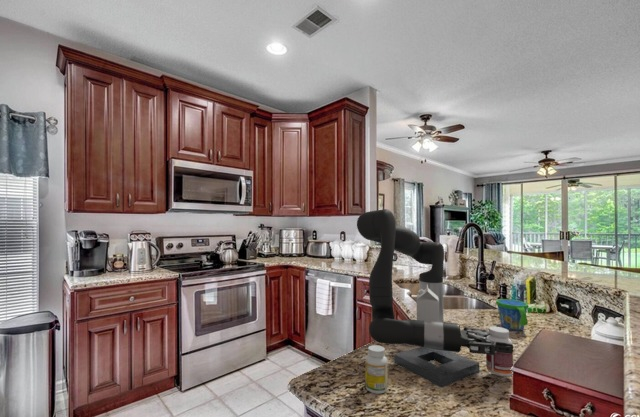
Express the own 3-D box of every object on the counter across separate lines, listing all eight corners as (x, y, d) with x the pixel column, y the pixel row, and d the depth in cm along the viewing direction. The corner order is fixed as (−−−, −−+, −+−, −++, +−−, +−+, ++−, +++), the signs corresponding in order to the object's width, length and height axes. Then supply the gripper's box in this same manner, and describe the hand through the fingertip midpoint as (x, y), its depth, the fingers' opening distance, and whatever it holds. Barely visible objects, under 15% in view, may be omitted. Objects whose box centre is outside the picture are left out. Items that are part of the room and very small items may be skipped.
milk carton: (438, 340, 109) (438, 285, 110) (439, 347, 102) (438, 288, 103) (417, 337, 111) (417, 283, 112) (416, 344, 104) (416, 287, 106)
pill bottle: (517, 373, 81) (517, 330, 82) (505, 379, 78) (505, 335, 79) (493, 364, 87) (493, 324, 87) (481, 369, 83) (481, 327, 84)
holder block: (394, 363, 90) (394, 354, 90) (430, 351, 98) (430, 343, 99) (441, 387, 76) (441, 377, 77) (479, 372, 85) (479, 362, 85)
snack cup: (538, 336, 114) (537, 307, 114) (507, 334, 115) (506, 306, 116) (517, 323, 129) (516, 298, 130) (490, 321, 131) (489, 297, 131)
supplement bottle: (380, 396, 72) (380, 354, 73) (361, 389, 76) (361, 348, 76) (391, 387, 76) (391, 347, 77) (372, 380, 80) (372, 342, 80)
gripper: (442, 330, 81) (516, 338, 75) (440, 315, 94) (502, 321, 89) (443, 359, 80) (517, 370, 75) (440, 340, 94) (503, 348, 89)
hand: (509, 343), depth 82 cm, fingers closed on pill bottle, 6 cm apart
